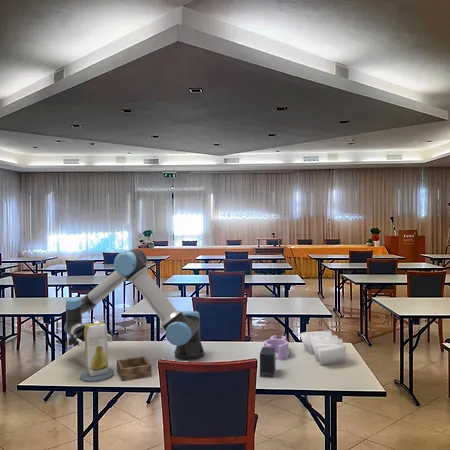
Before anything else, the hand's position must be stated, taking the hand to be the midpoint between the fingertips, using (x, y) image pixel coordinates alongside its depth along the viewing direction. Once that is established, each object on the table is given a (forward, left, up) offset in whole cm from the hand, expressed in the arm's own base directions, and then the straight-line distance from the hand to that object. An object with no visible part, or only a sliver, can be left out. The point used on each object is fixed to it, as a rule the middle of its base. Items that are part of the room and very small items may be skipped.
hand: (96, 341), depth 202 cm
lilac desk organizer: (-89, +7, -16) cm, 91 cm away
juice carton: (0, -2, -15) cm, 15 cm away
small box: (-72, +30, -16) cm, 79 cm away
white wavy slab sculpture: (-107, +20, -16) cm, 110 cm away
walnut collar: (-16, +3, -16) cm, 23 cm away
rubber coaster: (0, -1, -16) cm, 16 cm away
